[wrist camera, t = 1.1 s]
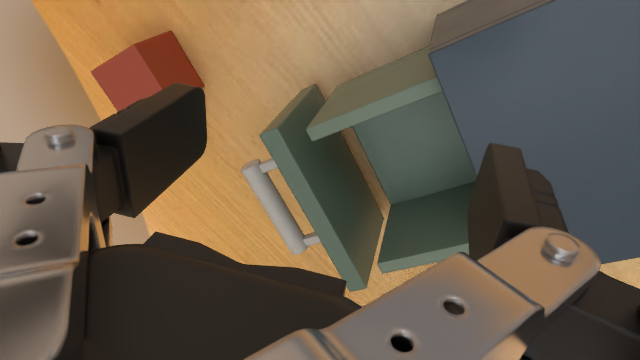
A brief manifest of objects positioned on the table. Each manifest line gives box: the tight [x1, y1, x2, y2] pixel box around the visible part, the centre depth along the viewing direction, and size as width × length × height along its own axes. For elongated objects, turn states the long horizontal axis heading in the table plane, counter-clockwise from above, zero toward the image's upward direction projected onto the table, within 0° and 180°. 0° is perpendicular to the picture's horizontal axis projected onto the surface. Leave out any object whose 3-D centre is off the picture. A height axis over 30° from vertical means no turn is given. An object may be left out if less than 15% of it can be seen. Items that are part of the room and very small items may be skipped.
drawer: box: [241, 46, 477, 292], centre depth 27 cm, size 17×11×8 cm
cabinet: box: [428, 0, 640, 264], centre depth 21 cm, size 14×13×10 cm
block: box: [91, 31, 204, 111], centre depth 31 cm, size 4×4×4 cm
